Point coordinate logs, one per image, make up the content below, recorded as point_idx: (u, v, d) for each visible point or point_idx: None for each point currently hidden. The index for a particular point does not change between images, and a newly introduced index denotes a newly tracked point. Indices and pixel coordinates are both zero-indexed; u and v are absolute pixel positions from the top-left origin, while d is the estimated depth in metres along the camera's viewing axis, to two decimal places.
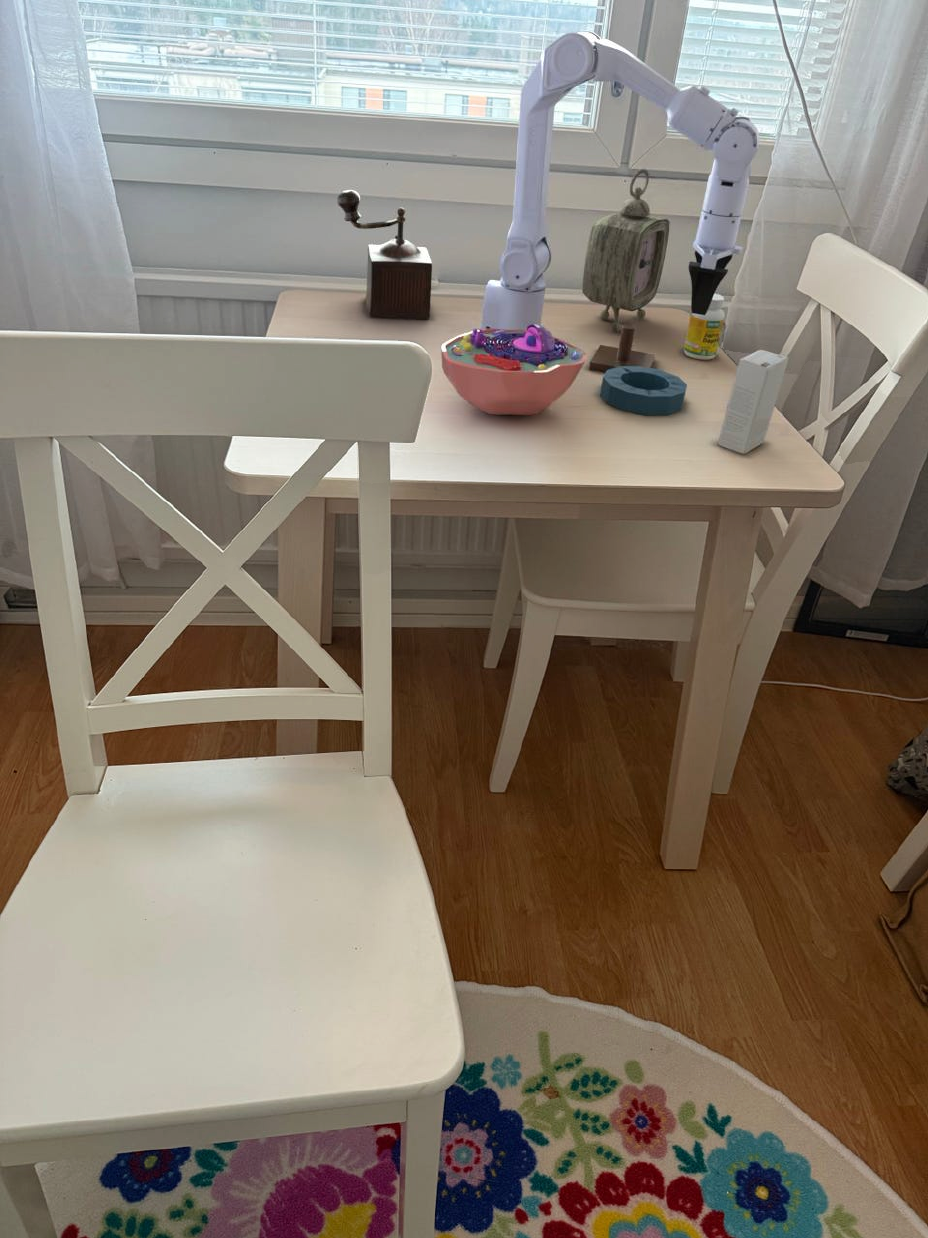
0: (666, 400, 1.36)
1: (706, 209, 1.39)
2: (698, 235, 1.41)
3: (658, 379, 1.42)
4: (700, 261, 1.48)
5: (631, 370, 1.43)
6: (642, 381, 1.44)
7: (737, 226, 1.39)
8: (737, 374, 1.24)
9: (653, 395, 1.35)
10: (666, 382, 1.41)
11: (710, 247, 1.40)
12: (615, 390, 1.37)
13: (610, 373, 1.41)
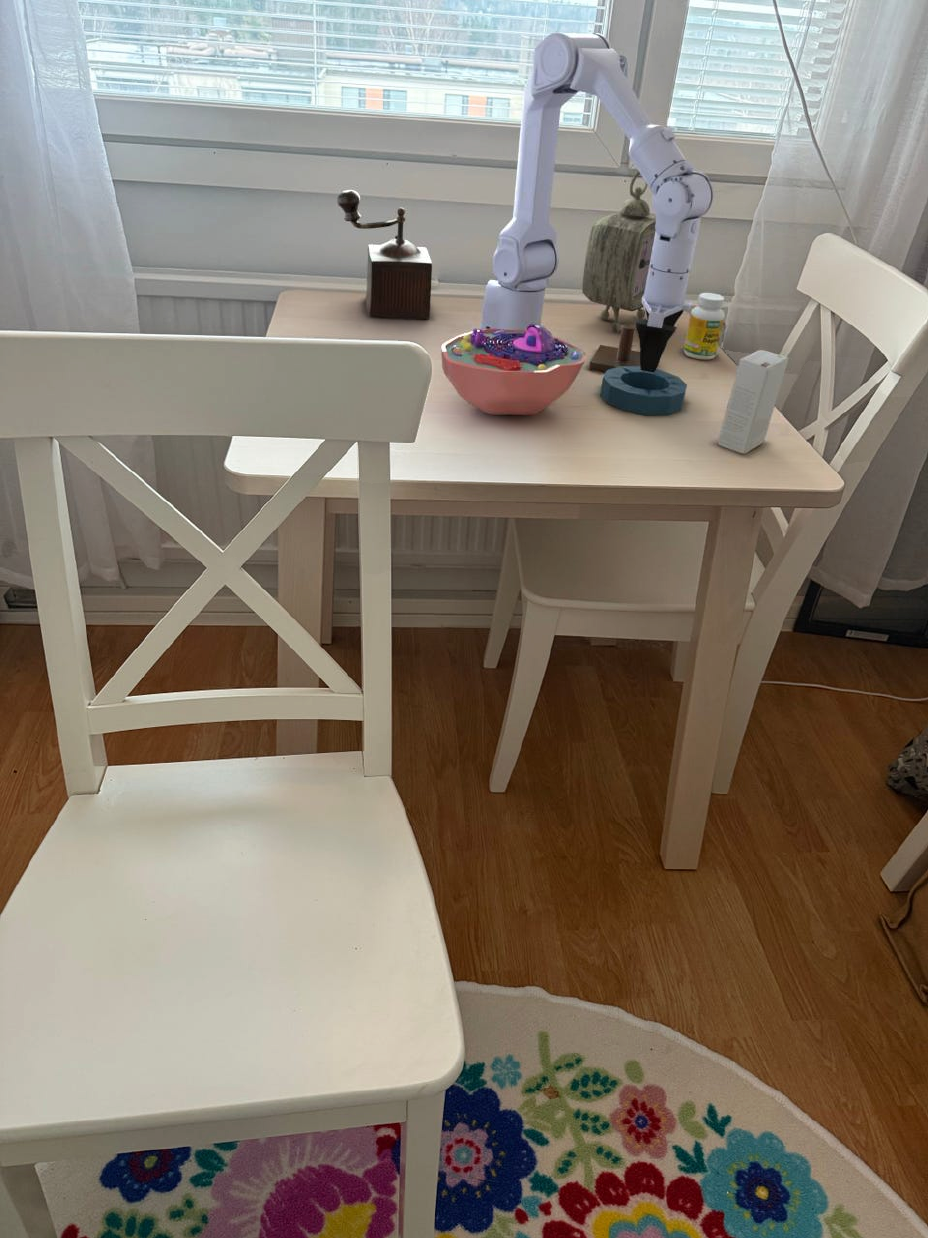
0: (666, 400, 1.36)
1: (650, 263, 1.35)
2: (646, 291, 1.37)
3: (658, 379, 1.42)
4: None
5: (631, 370, 1.43)
6: (642, 381, 1.44)
7: (685, 282, 1.35)
8: (737, 374, 1.24)
9: (653, 395, 1.35)
10: (666, 382, 1.41)
11: (658, 304, 1.36)
12: (615, 390, 1.37)
13: (610, 373, 1.41)
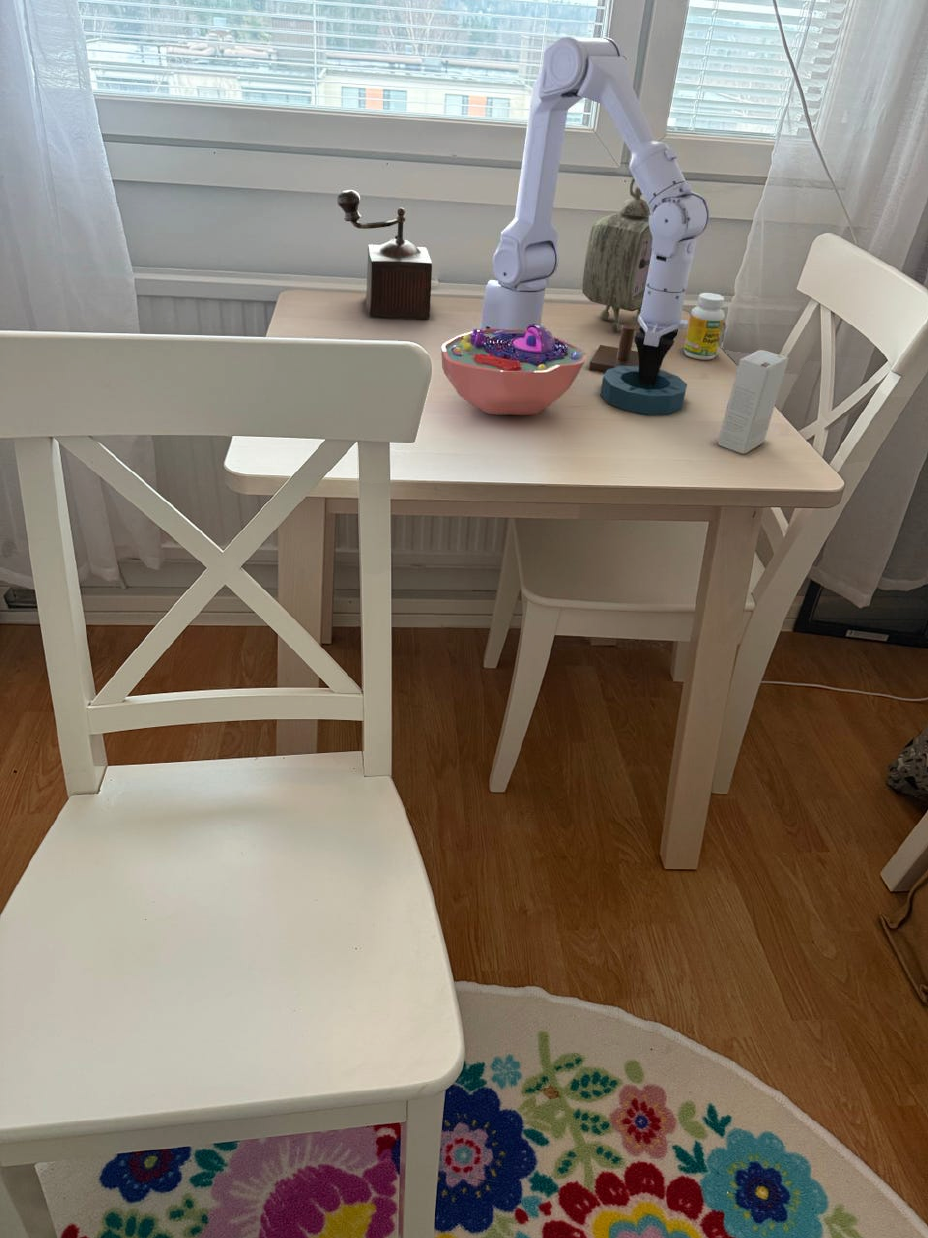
0: (666, 399, 1.36)
1: (646, 282, 1.36)
2: (642, 309, 1.38)
3: (658, 379, 1.42)
4: None
5: (631, 370, 1.43)
6: None
7: (681, 301, 1.36)
8: (737, 374, 1.24)
9: (653, 394, 1.35)
10: (666, 381, 1.41)
11: (654, 322, 1.37)
12: (615, 389, 1.37)
13: (610, 373, 1.41)
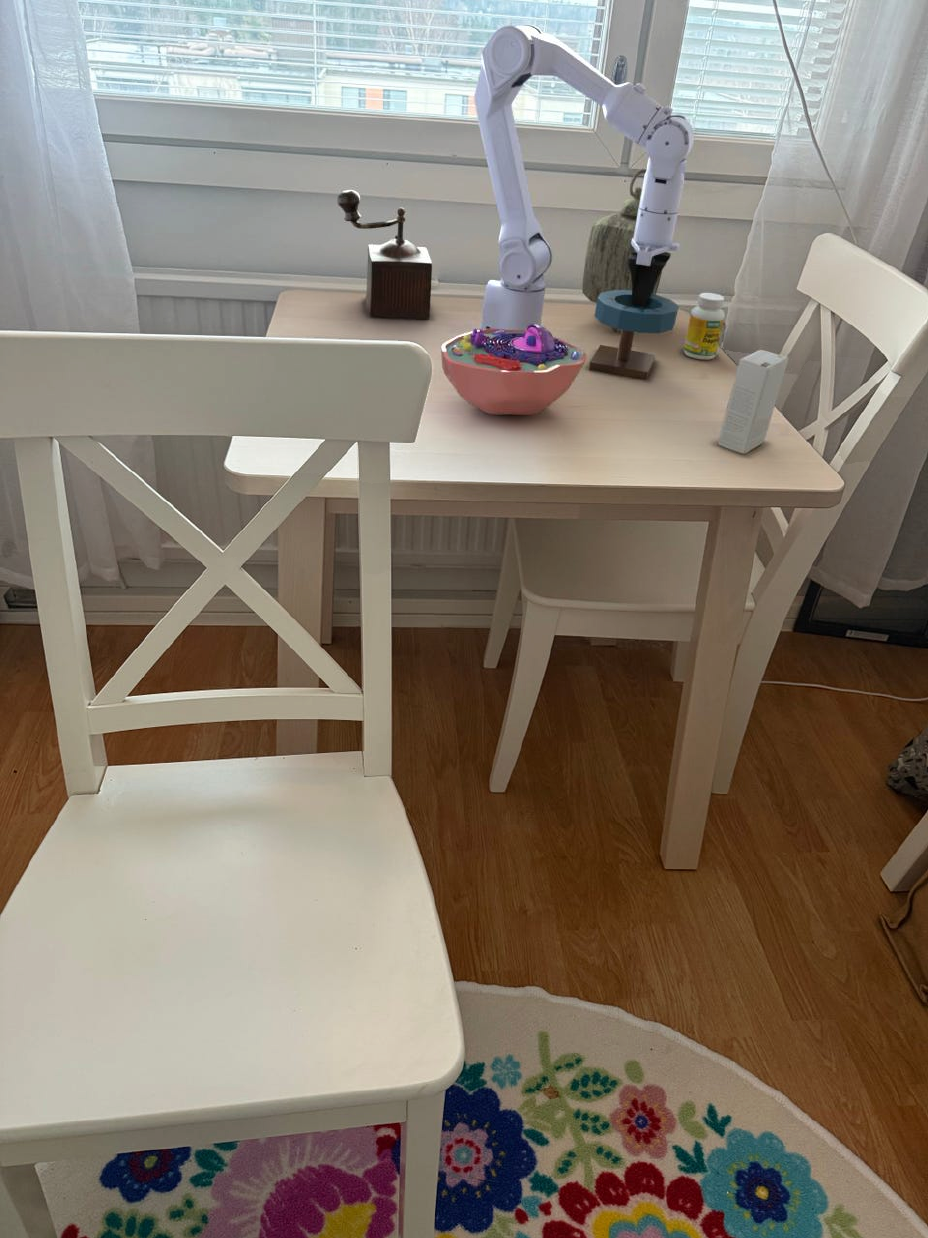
0: (658, 318, 1.41)
1: (642, 206, 1.40)
2: (635, 232, 1.43)
3: (651, 301, 1.47)
4: None
5: (625, 293, 1.48)
6: None
7: (673, 223, 1.41)
8: (737, 374, 1.24)
9: (645, 313, 1.40)
10: (659, 303, 1.46)
11: (647, 244, 1.42)
12: (609, 309, 1.42)
13: (604, 295, 1.46)
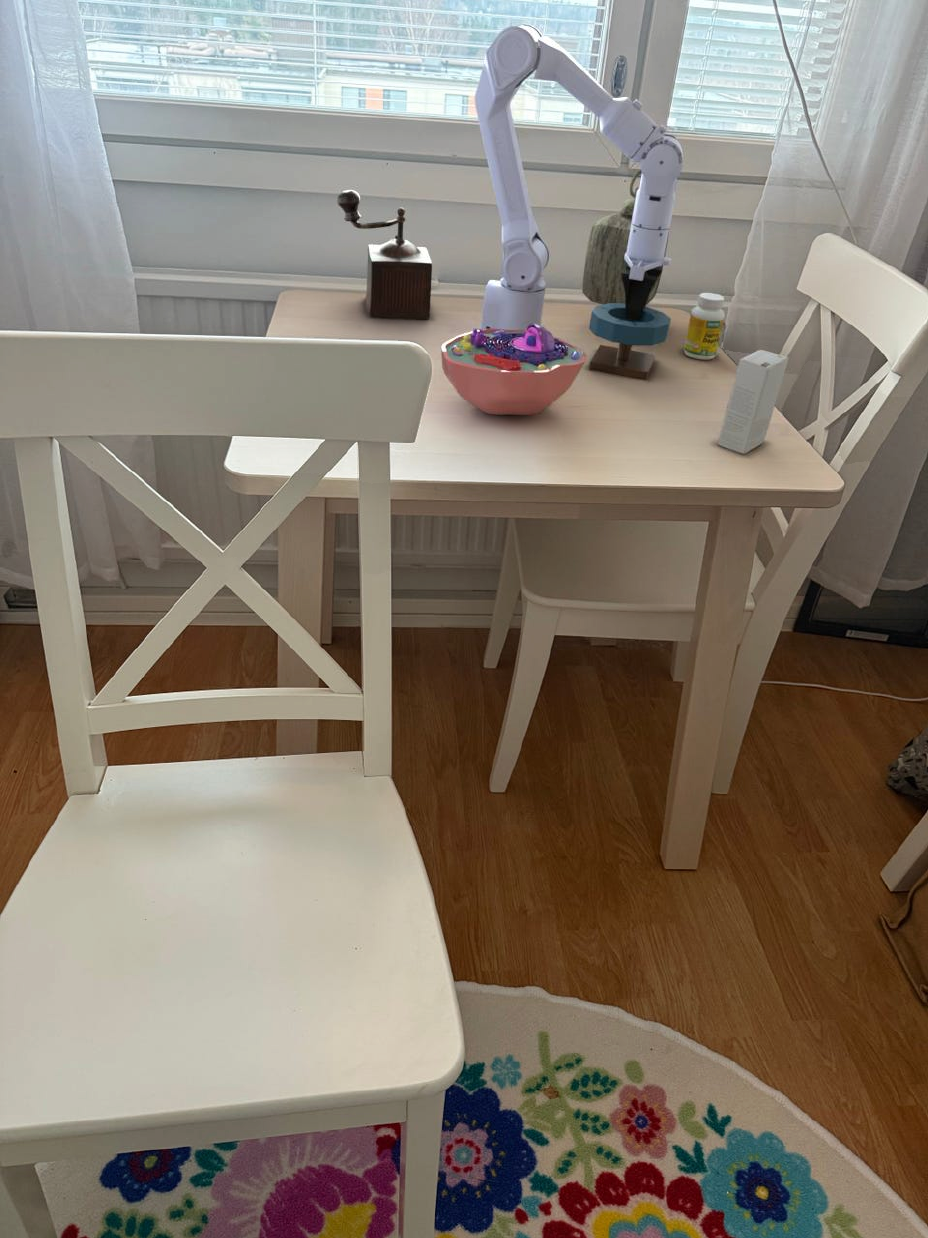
0: (651, 331, 1.44)
1: (636, 223, 1.44)
2: (628, 247, 1.47)
3: (644, 314, 1.51)
4: None
5: (618, 306, 1.52)
6: None
7: (665, 239, 1.45)
8: (737, 374, 1.24)
9: (638, 326, 1.44)
10: (651, 316, 1.50)
11: (639, 259, 1.46)
12: (603, 322, 1.46)
13: (598, 308, 1.50)
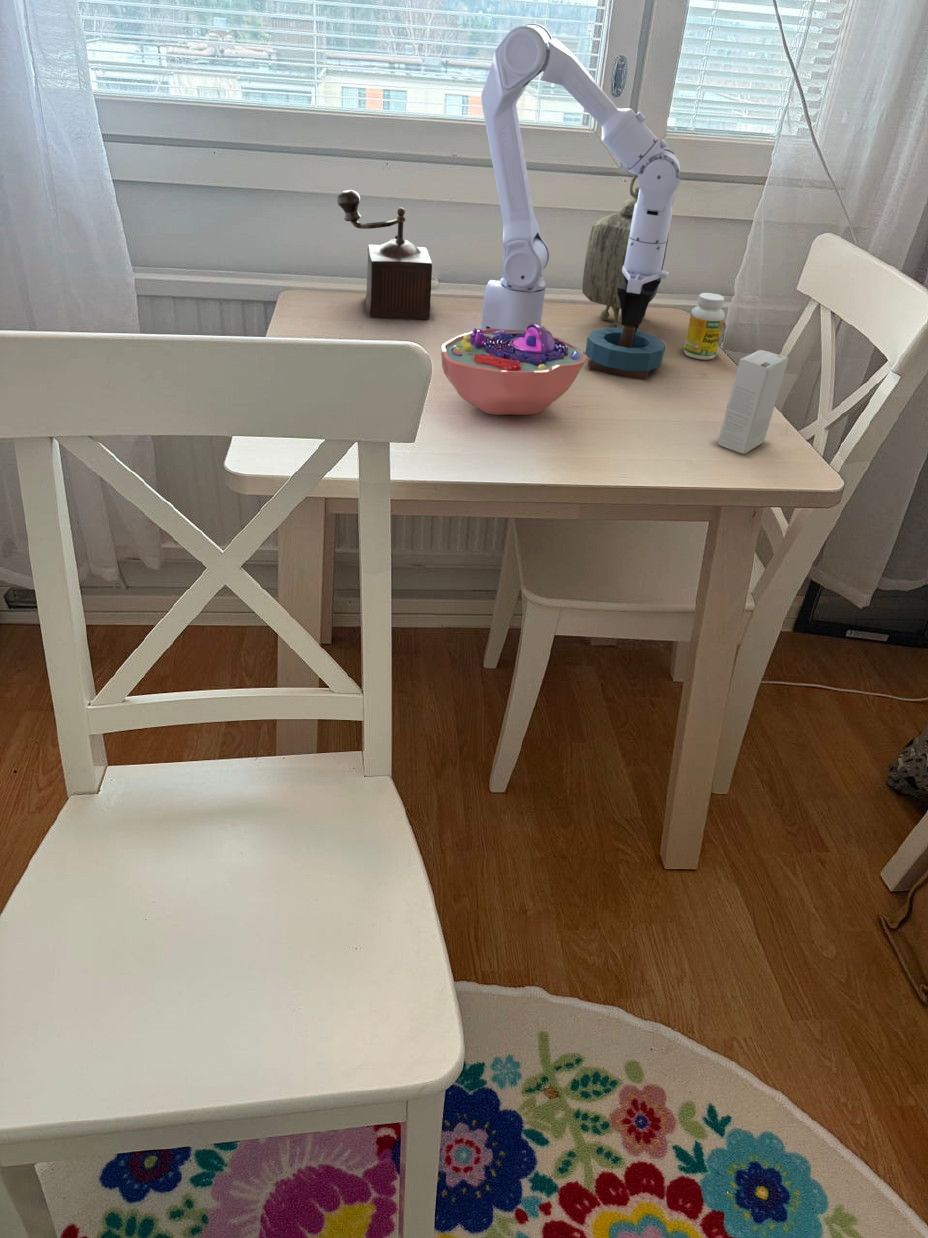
0: (645, 357, 1.47)
1: (633, 236, 1.45)
2: (626, 260, 1.48)
3: (639, 339, 1.53)
4: None
5: (614, 331, 1.54)
6: None
7: (662, 252, 1.46)
8: (737, 374, 1.24)
9: (633, 352, 1.46)
10: (646, 341, 1.52)
11: (637, 272, 1.47)
12: (598, 348, 1.48)
13: (594, 333, 1.52)
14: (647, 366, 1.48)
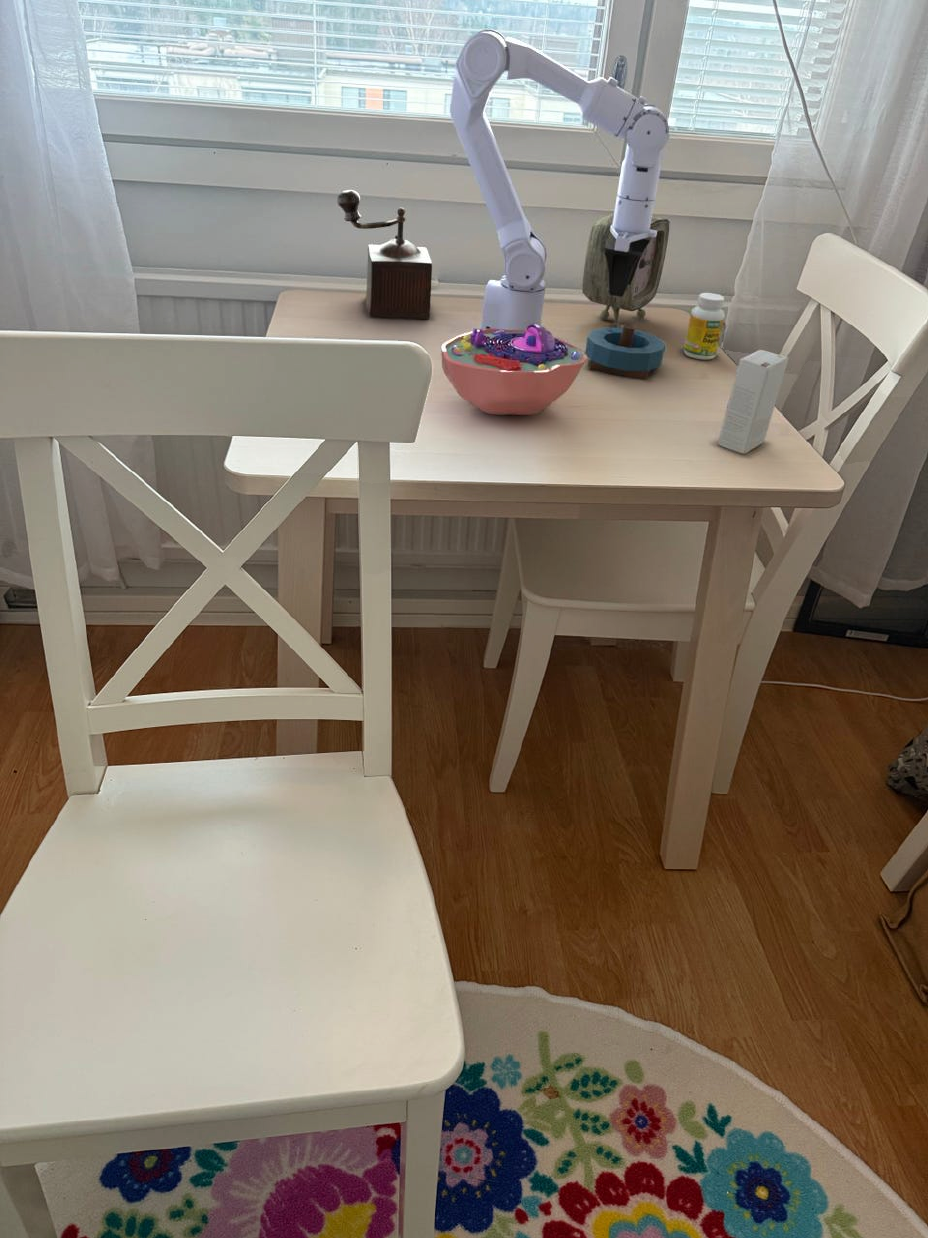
0: (645, 357, 1.47)
1: (622, 195, 1.43)
2: (614, 219, 1.46)
3: (639, 339, 1.53)
4: None
5: (614, 331, 1.54)
6: None
7: (650, 210, 1.45)
8: (737, 374, 1.24)
9: (633, 352, 1.46)
10: (646, 341, 1.52)
11: (625, 231, 1.45)
12: (598, 348, 1.48)
13: (594, 333, 1.52)
14: (647, 366, 1.48)
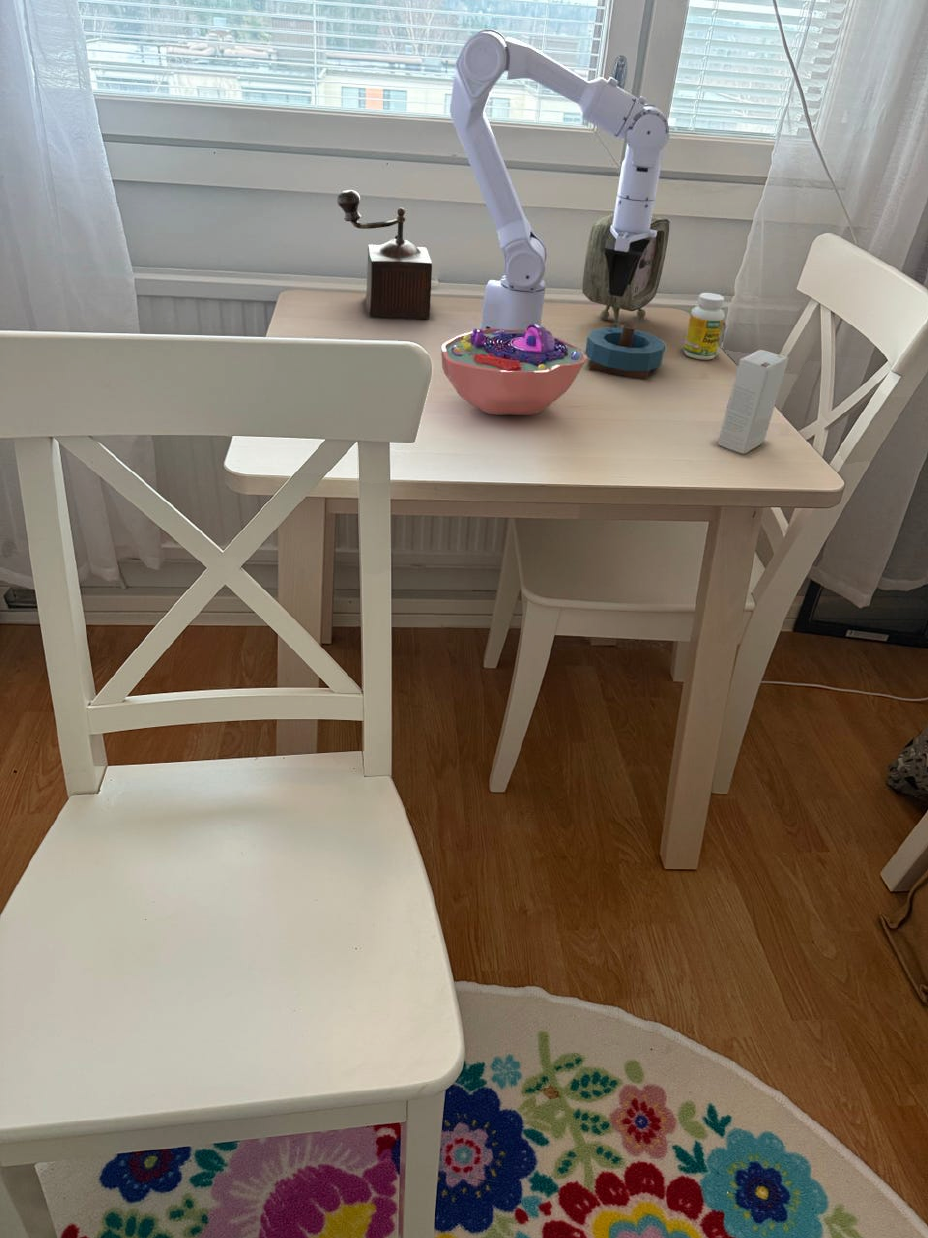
0: (645, 357, 1.47)
1: (622, 195, 1.43)
2: (614, 219, 1.46)
3: (639, 339, 1.53)
4: None
5: (614, 331, 1.54)
6: None
7: (650, 210, 1.45)
8: (737, 374, 1.24)
9: (633, 352, 1.46)
10: (646, 341, 1.52)
11: (625, 231, 1.45)
12: (598, 348, 1.48)
13: (594, 333, 1.52)
14: (647, 366, 1.48)
